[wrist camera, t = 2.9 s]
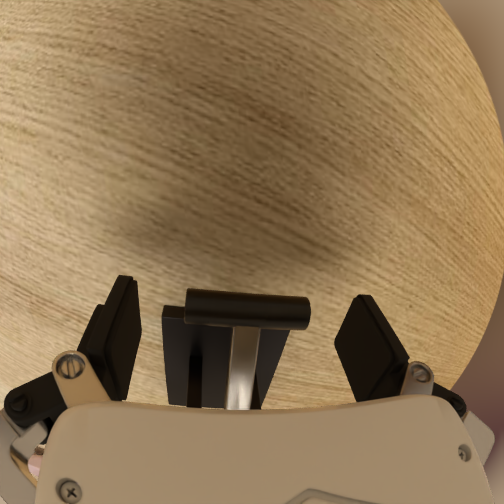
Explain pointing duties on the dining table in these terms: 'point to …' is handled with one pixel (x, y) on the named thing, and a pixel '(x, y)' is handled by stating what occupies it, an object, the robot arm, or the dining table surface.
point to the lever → (244, 330)
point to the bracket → (211, 361)
